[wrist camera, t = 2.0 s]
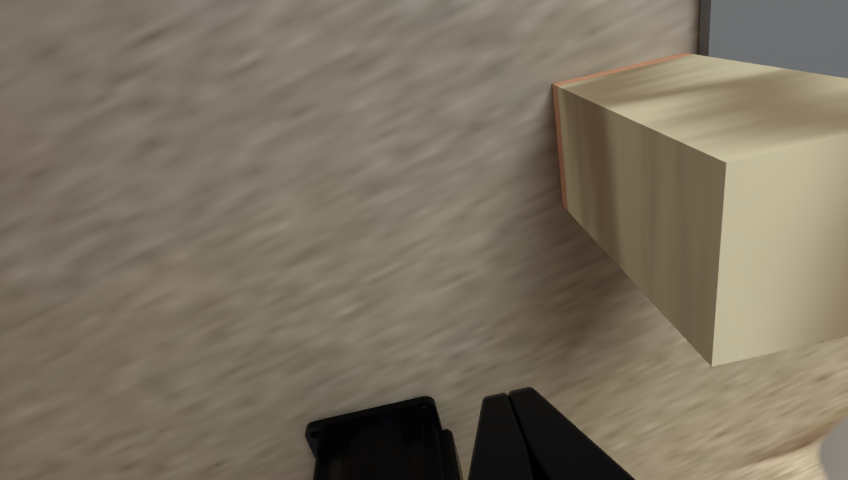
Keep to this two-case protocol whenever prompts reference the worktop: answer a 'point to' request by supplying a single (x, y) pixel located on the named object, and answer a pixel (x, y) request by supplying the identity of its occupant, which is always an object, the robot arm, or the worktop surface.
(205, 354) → the worktop surface
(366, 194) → the worktop surface
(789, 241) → the maple block
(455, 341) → the worktop surface
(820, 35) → the rubber mat
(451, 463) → the robot arm
